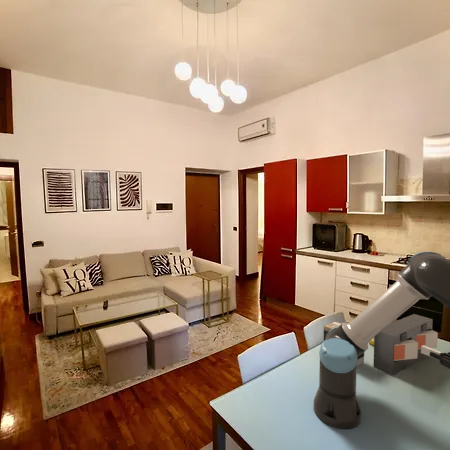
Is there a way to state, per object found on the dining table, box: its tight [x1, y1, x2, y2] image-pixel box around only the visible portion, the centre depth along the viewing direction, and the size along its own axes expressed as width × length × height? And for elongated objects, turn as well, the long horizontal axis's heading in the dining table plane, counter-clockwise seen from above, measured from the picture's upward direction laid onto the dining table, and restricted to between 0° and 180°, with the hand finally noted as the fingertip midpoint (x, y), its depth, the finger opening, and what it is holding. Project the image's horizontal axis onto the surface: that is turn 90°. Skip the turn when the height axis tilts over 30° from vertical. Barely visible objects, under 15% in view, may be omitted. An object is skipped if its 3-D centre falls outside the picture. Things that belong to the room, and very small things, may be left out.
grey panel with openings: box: [372, 313, 434, 377], centre depth 130 cm, size 34×8×17 cm, turn 121°
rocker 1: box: [394, 340, 418, 361], centre depth 122 cm, size 12×3×7 cm, turn 100°
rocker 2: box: [416, 329, 439, 349], centre depth 132 cm, size 12×3×7 cm, turn 99°
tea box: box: [323, 321, 365, 368], centre depth 131 cm, size 15×10×15 cm, turn 34°
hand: (422, 349), depth 113 cm, fingers closed
